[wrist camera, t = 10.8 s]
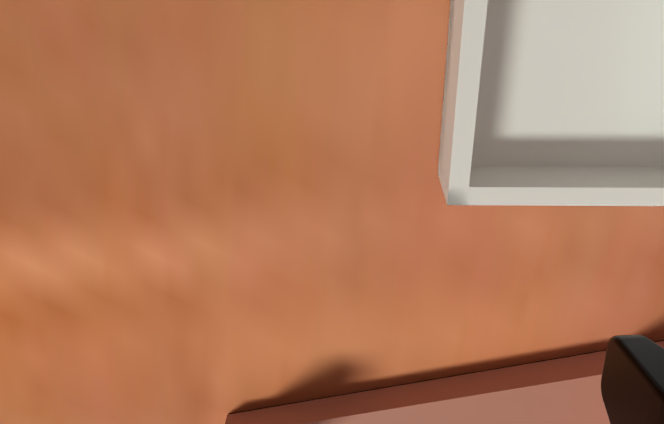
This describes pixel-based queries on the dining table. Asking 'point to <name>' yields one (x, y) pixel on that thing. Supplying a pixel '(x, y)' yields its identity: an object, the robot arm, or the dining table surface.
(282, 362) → the dining table surface
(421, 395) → the hitch bracket
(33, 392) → the dining table surface
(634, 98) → the tray
